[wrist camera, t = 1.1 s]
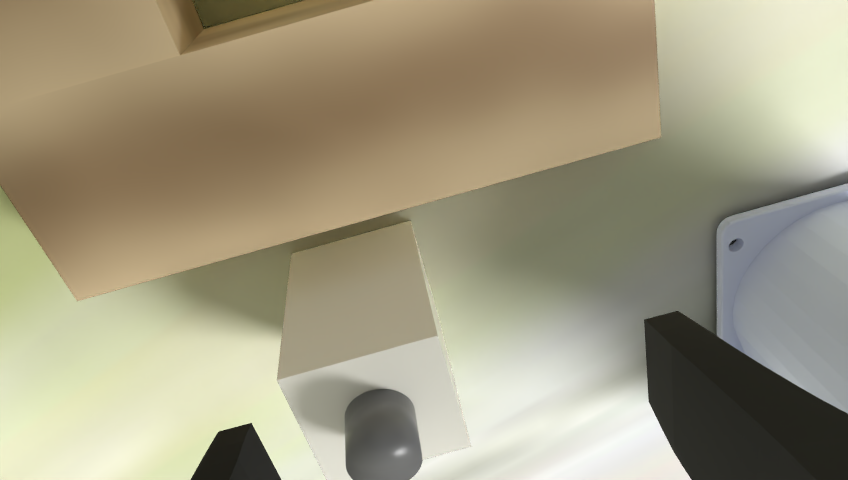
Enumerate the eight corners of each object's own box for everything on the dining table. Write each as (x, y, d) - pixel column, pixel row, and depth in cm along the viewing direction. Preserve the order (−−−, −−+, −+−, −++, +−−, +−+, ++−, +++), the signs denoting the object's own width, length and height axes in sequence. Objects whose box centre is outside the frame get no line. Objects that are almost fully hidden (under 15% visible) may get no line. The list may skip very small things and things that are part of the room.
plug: (438, 315, 22) (482, 492, 16) (330, 345, 22) (329, 535, 16) (410, 220, 20) (447, 377, 14) (291, 253, 20) (271, 427, 14)
